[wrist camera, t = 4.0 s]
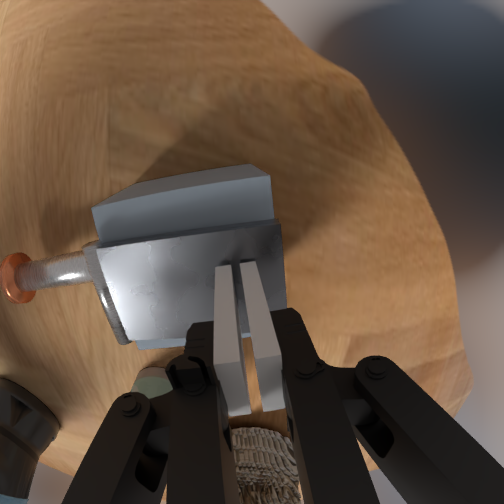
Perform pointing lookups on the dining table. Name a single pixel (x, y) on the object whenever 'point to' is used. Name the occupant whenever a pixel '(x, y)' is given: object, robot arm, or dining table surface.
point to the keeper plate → (181, 276)
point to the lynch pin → (41, 274)
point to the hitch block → (185, 209)
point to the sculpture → (265, 467)
